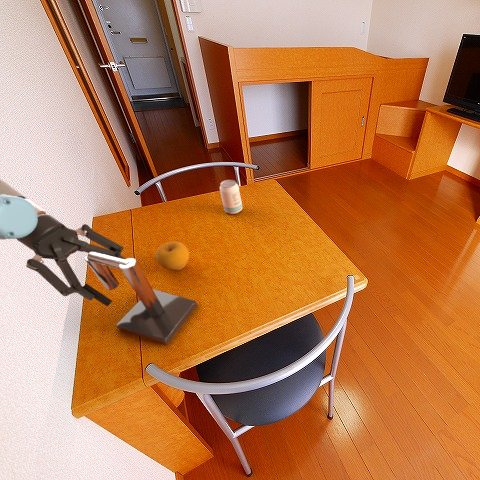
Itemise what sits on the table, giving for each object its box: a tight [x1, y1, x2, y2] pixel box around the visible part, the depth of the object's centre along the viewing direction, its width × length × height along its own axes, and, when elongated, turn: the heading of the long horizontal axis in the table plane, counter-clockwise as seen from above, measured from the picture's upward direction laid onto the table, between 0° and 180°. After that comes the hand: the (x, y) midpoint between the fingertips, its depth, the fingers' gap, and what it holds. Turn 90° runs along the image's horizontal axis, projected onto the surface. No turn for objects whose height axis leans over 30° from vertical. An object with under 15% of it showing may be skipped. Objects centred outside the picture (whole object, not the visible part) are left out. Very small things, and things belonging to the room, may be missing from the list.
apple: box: [154, 241, 190, 271], centre depth 82 cm, size 9×9×9 cm
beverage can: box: [219, 179, 243, 215], centre depth 105 cm, size 7×7×12 cm
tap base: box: [115, 288, 198, 346], centre depth 71 cm, size 14×12×2 cm
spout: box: [84, 252, 164, 317], centre depth 65 cm, size 13×3×18 cm, turn 74°
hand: (124, 289), depth 67 cm, fingers open, 8 cm apart
